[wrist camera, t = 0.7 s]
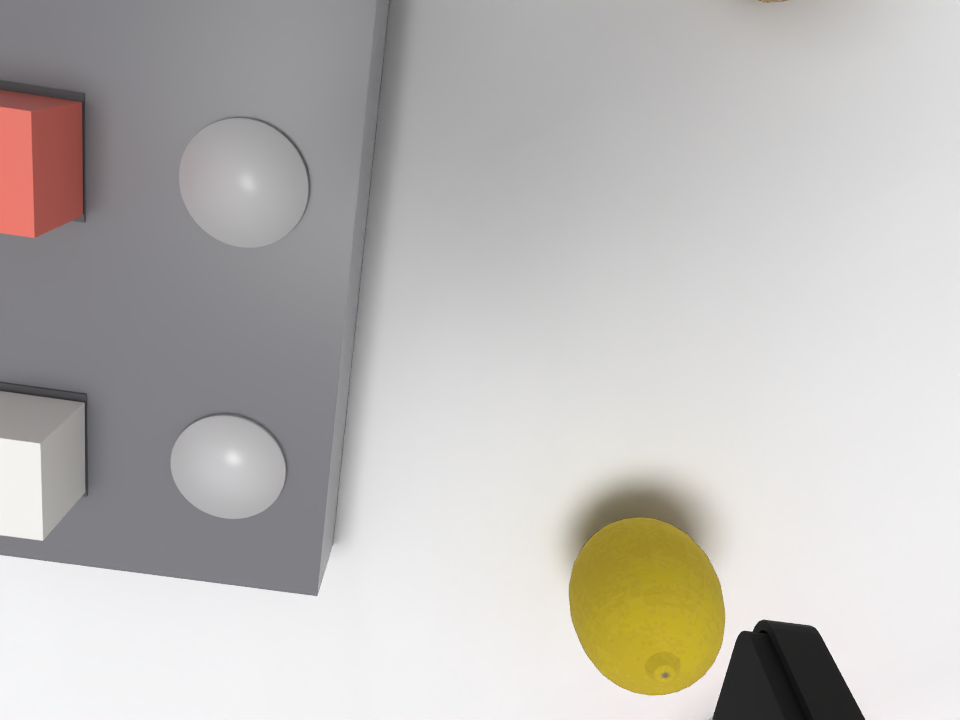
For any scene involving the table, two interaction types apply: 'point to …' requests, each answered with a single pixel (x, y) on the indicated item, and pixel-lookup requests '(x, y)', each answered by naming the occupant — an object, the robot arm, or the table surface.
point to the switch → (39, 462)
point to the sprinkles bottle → (772, 0)
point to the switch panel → (198, 275)
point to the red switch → (39, 163)
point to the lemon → (647, 606)
